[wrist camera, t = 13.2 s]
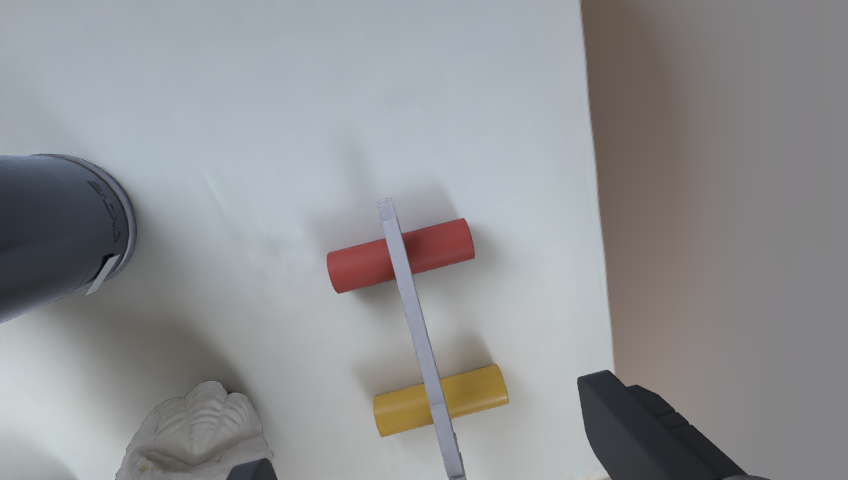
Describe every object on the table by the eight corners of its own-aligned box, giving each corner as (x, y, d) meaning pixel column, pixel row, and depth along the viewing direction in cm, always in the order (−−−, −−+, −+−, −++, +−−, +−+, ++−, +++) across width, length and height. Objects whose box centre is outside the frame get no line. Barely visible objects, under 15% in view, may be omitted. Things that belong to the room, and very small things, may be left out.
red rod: (342, 286, 30) (336, 299, 27) (330, 248, 30) (323, 258, 27) (469, 252, 31) (477, 263, 28) (461, 215, 30) (467, 221, 27)
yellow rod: (384, 420, 33) (382, 446, 30) (374, 388, 32) (372, 412, 29) (501, 389, 33) (511, 411, 30) (493, 356, 32) (503, 376, 30)
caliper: (462, 454, 31) (478, 529, 25) (448, 458, 31) (461, 534, 25) (391, 197, 26) (390, 209, 20) (375, 201, 26) (369, 215, 20)
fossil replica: (266, 357, 31) (145, 377, 32) (205, 419, 23) (44, 445, 24) (301, 494, 33) (186, 511, 34) (256, 598, 25) (104, 618, 25)
